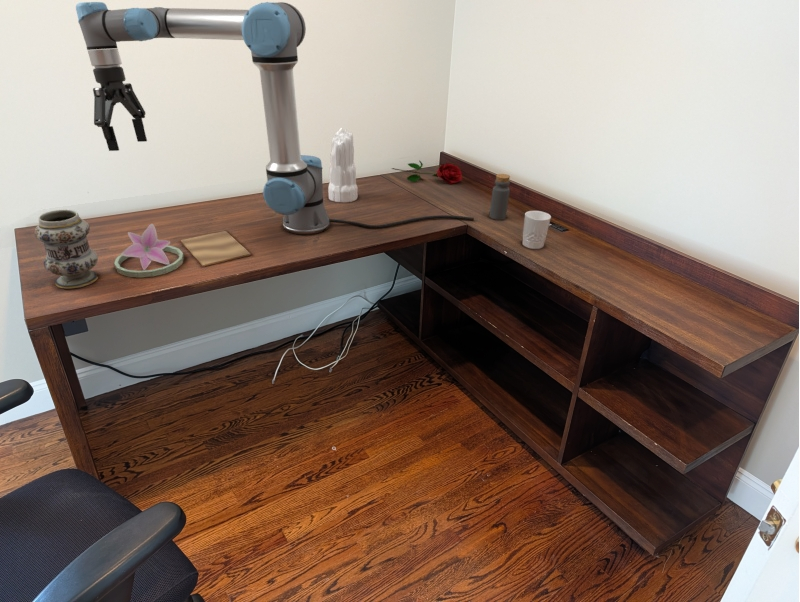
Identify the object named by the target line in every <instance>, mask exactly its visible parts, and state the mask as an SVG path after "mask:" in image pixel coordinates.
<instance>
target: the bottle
mask: <svg viewBox="0 0 800 602" xmlns="http://www.w3.org/2000/svg"><path fill="white" fill-rule="evenodd" d="M495 178H496V179H495V180H494V184H495V185H494V186H493V187H492V193H491V201H490V209H489V218H490V219H492V220H495V221H503V220H506V218H507V213H508V206H509V198H510V192H511V188H510V187H509V186H510V184H511V181H510V178H511V176H510V175H509V174H505V173H498V174H496V175H495Z"/></svg>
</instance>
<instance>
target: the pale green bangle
mask: <svg viewBox="0 0 800 602" xmlns="http://www.w3.org/2000/svg"><path fill="white" fill-rule="evenodd" d="M162 250H163V251H164V252H166V253H167V252H168V253H172V254H175V255H177V256H178V258H177V259H176V260H175V261H174V262H172V263H169V265H167V264H166V265H165V266H162V267H158V268H153V269H150V270H149V269H145V270H134V269H127V268H124V267H122V266H121V264H122V263H123V262H124V261H126V260H127V259H128V258H130V257H128V256H123V255H122V253H121V254H119V255H118V256H117V257H115V260H114V262H113V264H114V269H115V270H116V272H117V273H118V274H120V275H122V276H125V277H129V278H136V279H137V278H138V279H139V278H153V277H156V276H161V275H165V274H168V273H170V272H173V271H175V270H177V269H178V268H179V267H181V266H182V265H183V263H184V260H185V256H184V252H183V251H182V249H180V248H179V247H176V246H174V245H168V246H166V247H165V248H164V249H162Z"/></svg>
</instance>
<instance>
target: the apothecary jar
mask: <svg viewBox="0 0 800 602" xmlns="http://www.w3.org/2000/svg"><path fill="white" fill-rule="evenodd" d="M90 231H91V228H90V225H89V223H88V222H87V221H86V220H85V219H83V218H81V217H80V215H79V212H77V211H76V210H72V209H56V210H51V211H47V212H44V213H42V214H40V215H39V217H38V224H37V226H36V227H35V229H34V237H35V238H36V239H37V240H38V241H39V242H41V243H43V246H44V249H45V253H46V256H45V257H44V260H43V267H44V269H45V270H46V271H47V272H49V273H50V274H53V275H55V276H56V275H57V276H59V277H57V279H55V281H54V284H55V286H56V287H58V288H59V289H64V290H72V289H80V288H84V287H87V286H89V285H92V284H94V283H95V282H96V281H97V280H98V279H99V276H98V273H97V272H96V271H93V270H92V269H93V268H94V267H95V266H96V265H97V263H98V260H99V255H98V254H97V252H96V251H94V249H92V248H91V247H90V244H89V240H88V234H89V233H90Z"/></svg>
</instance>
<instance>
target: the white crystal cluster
mask: <svg viewBox="0 0 800 602" xmlns="http://www.w3.org/2000/svg"><path fill="white" fill-rule="evenodd" d="M354 146H355V145H354V136H353V133H352V132H349V131H348V130H347V129H343V127H340V128H339V129H338V130H337V131H336V132H335V133H334V134H333V137H332V140H331V151H330V165H329V183H328V187H327V188H328V189H327V191H328V200H330V201H331V202H335V203H342V204H343V203H352V202H354V201H356V200H357V199H358V195H359V193H358V192H359V191H358V189H359V187H358V184H357V169H356V165H355V149H354Z"/></svg>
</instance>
